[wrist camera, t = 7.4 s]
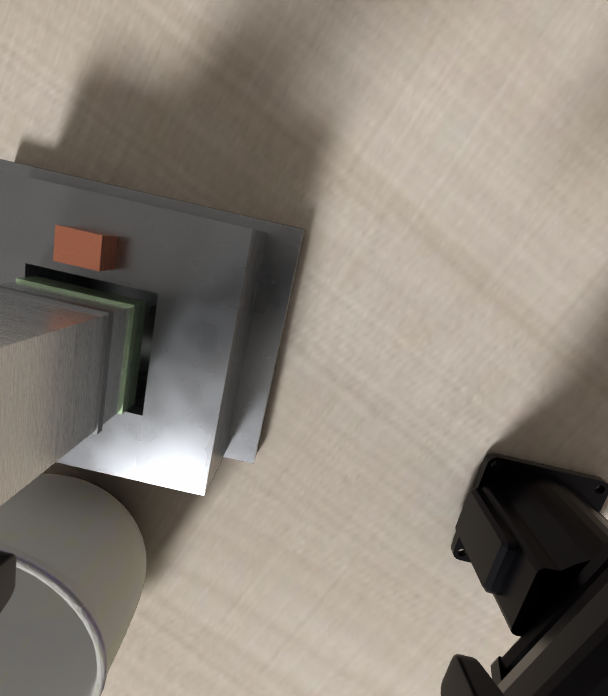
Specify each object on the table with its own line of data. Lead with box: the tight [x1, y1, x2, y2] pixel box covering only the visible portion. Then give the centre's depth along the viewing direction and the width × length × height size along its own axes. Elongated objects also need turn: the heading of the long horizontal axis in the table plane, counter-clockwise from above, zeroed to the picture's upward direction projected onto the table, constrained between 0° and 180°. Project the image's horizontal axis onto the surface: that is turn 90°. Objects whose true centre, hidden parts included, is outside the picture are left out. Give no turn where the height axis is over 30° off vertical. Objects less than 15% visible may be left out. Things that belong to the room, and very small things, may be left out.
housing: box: [0, 159, 305, 496], centre depth 17 cm, size 14×12×6 cm
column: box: [0, 276, 147, 506], centre depth 12 cm, size 4×4×7 cm
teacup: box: [0, 473, 147, 696], centre depth 20 cm, size 14×11×8 cm
